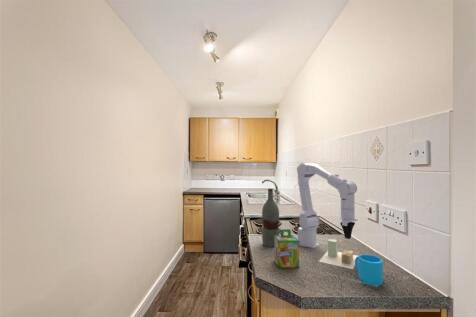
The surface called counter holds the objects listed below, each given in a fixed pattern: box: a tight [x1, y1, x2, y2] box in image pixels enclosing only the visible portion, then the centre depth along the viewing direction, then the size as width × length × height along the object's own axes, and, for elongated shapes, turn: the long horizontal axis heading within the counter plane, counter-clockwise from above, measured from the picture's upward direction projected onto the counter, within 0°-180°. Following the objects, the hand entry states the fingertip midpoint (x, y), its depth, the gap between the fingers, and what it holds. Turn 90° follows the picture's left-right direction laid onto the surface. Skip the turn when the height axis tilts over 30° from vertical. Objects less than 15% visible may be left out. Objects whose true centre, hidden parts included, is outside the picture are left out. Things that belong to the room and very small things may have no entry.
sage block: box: [327, 238, 339, 257], centre depth 116 cm, size 4×4×7 cm
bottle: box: [261, 188, 280, 248], centre depth 133 cm, size 9×9×30 cm
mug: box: [355, 254, 384, 287], centre depth 95 cm, size 12×8×8 cm
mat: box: [318, 250, 359, 270], centre depth 112 cm, size 14×17×1 cm
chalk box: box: [273, 228, 300, 269], centre depth 108 cm, size 9×9×15 cm
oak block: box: [341, 249, 354, 265], centre depth 109 cm, size 4×4×7 cm
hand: (347, 238), depth 112 cm, fingers closed
